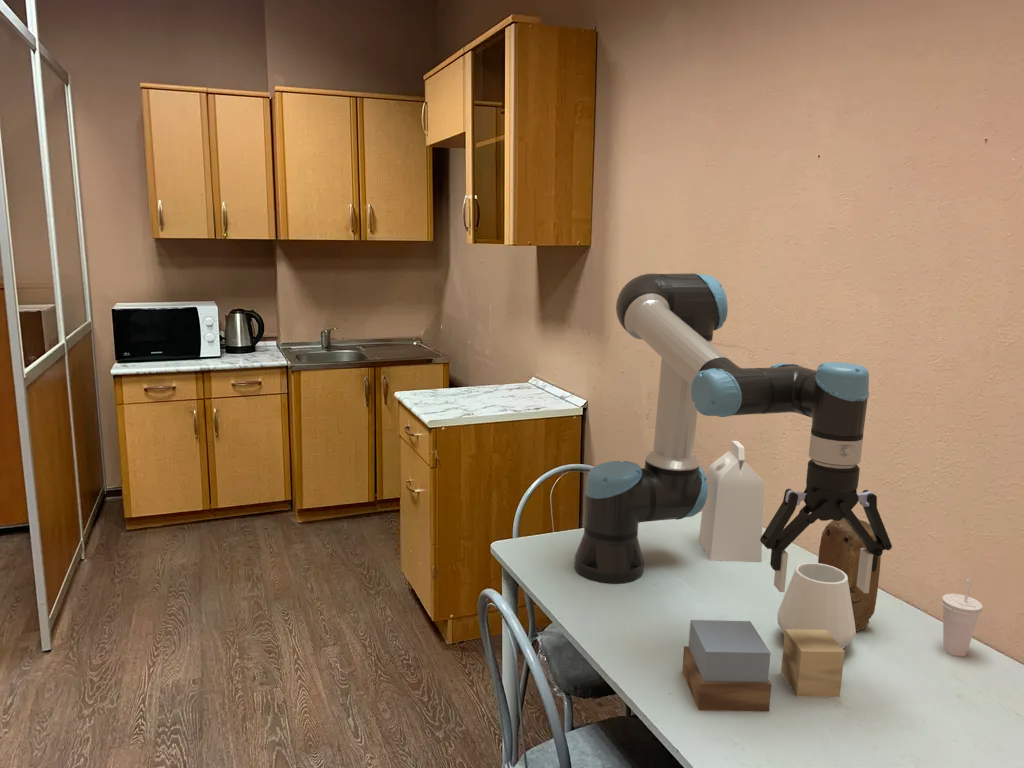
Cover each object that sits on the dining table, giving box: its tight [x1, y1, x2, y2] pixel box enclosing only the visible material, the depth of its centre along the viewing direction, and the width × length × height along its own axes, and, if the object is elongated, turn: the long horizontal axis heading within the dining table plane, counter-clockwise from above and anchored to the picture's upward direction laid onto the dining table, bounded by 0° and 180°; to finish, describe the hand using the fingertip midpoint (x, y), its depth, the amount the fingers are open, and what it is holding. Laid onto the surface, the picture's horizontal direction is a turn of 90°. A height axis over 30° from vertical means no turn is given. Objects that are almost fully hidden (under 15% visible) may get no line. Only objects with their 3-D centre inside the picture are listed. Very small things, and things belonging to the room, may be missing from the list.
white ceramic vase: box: [776, 562, 857, 650], centre depth 140 cm, size 13×13×14 cm
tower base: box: [681, 645, 772, 712], centre depth 126 cm, size 11×11×5 cm
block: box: [817, 518, 882, 632], centre depth 148 cm, size 11×8×20 cm
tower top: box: [688, 619, 771, 682], centre depth 125 cm, size 10×10×5 cm
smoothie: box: [940, 578, 984, 658], centre depth 139 cm, size 6×6×14 cm
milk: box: [698, 440, 765, 563], centre depth 180 cm, size 12×12×26 cm
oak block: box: [780, 629, 846, 698], centre depth 128 cm, size 7×7×8 cm
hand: (820, 589), depth 125 cm, fingers open, 13 cm apart
